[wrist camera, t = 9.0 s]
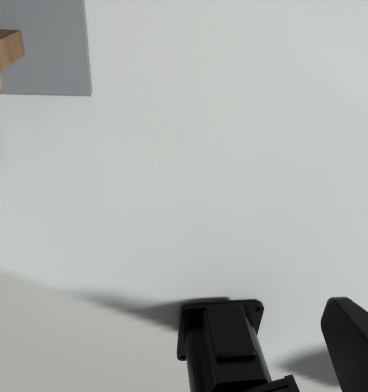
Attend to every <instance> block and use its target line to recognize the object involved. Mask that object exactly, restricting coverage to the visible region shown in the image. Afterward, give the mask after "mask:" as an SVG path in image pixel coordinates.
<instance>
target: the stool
mask: <svg viewBox="0 0 368 392" xmlns="http://www.w3.org/2000/svg"><path fill="white" fill-rule="evenodd" d="M24 55H25V52H24V46H23V41H22V35H21V30H5V29H0V72H1V71H3V70H4V69H5V68H7V67H8V66H10V65H11V64H12V63H14V62H15V61H17V60H18V59H20V58H21V57H22V56H24ZM2 87H3V84H2V80H1V75H0V89H1V88H2Z"/></svg>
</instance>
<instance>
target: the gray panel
mask: <svg viewBox="0 0 368 392" xmlns="http://www.w3.org/2000/svg"><path fill="white" fill-rule="evenodd" d="M0 29H5V30H21V35H22V41H23V46H24V52H25V55H24V56H22V57H21V58H20V59H18V60H17V61H15V62H14V63H12V64H11V65H10V66H8V67H7V68H5V69H4V70H3V71H1V72H0V75H1V80H2V84H3V87H2V88H1V89H0V94H18V95H60V96H91V94H92V88H91V76H90V64H89V52H88V40H87V28H86V16H85V4H84V0H0Z"/></svg>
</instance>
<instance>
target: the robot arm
mask: <svg viewBox="0 0 368 392" xmlns="http://www.w3.org/2000/svg"><path fill="white" fill-rule="evenodd" d="M263 311H264V306H263V304H262V302H260V301H248V302H228V303H209V304H189V305H184V306H182V307H181V308H180V317H179V331H178V344H177V358H178V360H180V361H186V360H187V368H188V375H189V382H190V391H191V392H300V391H299V389H298V387H297V384H296V382H295V380H294V377H293V375H292V374H291V375H288V376H285V378H283V379H279V380H275V381H272V380H271V377H270V374H269V371H268V368H267V365H266V362H265V359H264V356H263V353H262V350H261V347H260V344H259V341H258V338H257V334H258V330H259V326H260V322H261V318H262V315H263ZM321 329H322V333H323V336H324V339H325V342H326V345H327V348H328V351H329V354H330V357H331V360H332V363H333V366H334V369H335V372H336V375H337V378H338V381H339V384H340V387H341V389H342V392H368V312H367V311H366V310H364V309H363V308H362V307H360V306H359V305H357V304H356V303H355V302H353V301H352V300H351V299H349V298H347V297H332V298H330V299H329V300H328V301H327V304H326V307H325V310H324V312H323V315H322V318H321Z"/></svg>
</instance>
